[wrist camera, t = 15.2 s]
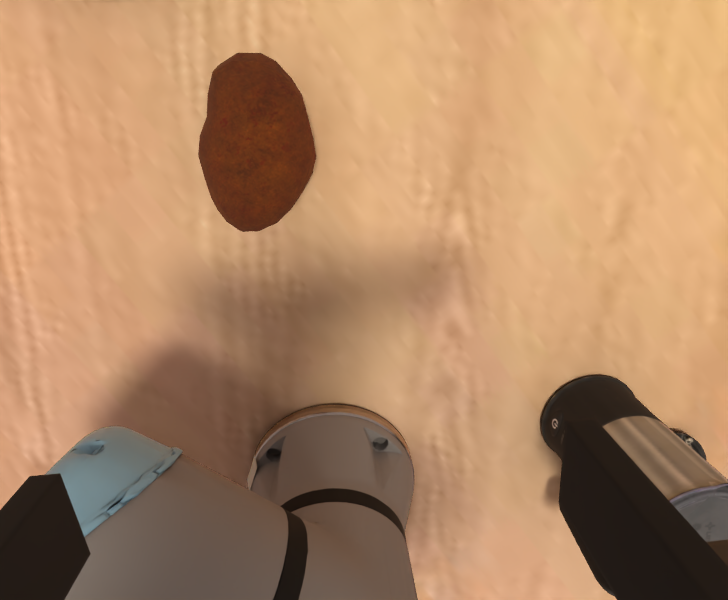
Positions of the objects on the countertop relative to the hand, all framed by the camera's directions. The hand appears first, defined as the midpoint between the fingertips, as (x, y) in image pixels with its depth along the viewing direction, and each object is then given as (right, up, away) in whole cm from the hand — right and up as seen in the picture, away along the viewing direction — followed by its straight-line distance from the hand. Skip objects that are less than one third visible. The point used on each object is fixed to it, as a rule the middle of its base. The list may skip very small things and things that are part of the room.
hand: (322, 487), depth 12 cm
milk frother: (+26, -8, +33) cm, 43 cm away
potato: (-6, +16, +22) cm, 28 cm away
